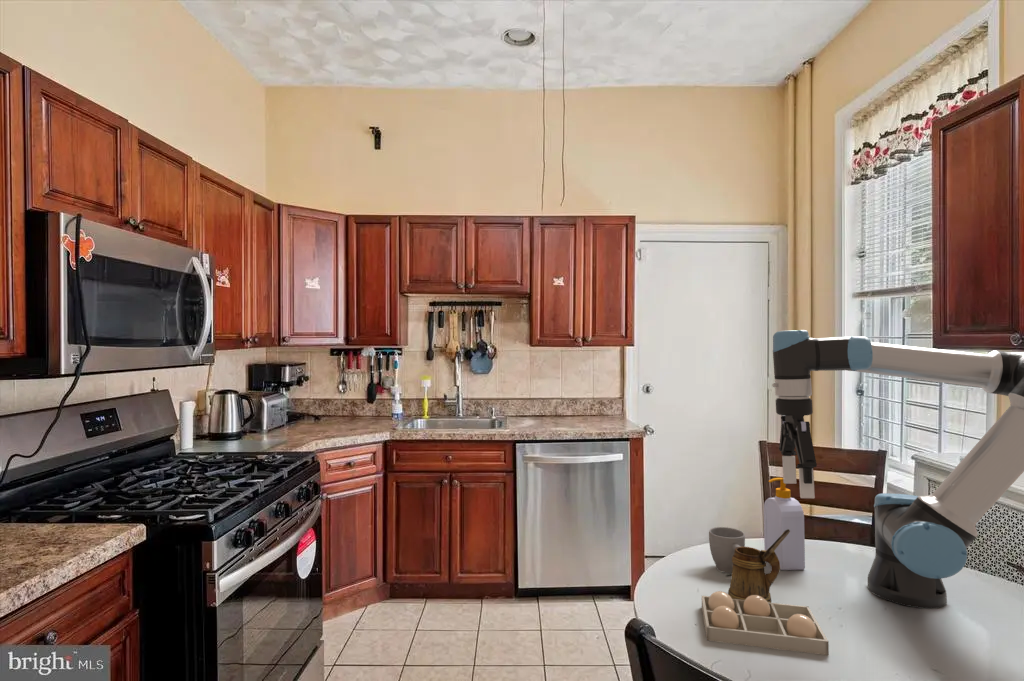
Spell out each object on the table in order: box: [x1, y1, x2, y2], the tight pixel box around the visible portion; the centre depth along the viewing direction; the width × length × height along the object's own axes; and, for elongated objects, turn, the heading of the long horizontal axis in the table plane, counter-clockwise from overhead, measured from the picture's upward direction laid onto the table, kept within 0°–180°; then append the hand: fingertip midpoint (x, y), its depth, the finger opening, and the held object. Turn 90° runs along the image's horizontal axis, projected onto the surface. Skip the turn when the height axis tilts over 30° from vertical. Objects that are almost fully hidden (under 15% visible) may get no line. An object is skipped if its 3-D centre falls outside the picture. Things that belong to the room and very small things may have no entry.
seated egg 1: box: [708, 590, 734, 611], centre depth 118 cm, size 5×5×5 cm
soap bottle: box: [763, 477, 806, 571], centre depth 148 cm, size 9×7×23 cm
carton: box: [701, 595, 830, 656], centre depth 113 cm, size 22×14×3 cm
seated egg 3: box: [787, 614, 817, 639], centre depth 108 cm, size 5×5×5 cm
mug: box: [708, 526, 746, 574], centre depth 144 cm, size 12×9×10 cm
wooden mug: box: [727, 529, 790, 603], centre depth 126 cm, size 9×14×18 cm, turn 49°
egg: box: [743, 595, 770, 617], centre depth 116 cm, size 5×5×5 cm
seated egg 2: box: [711, 606, 739, 630], centre depth 111 cm, size 5×5×5 cm
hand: (798, 490), depth 126 cm, fingers open, 13 cm apart
